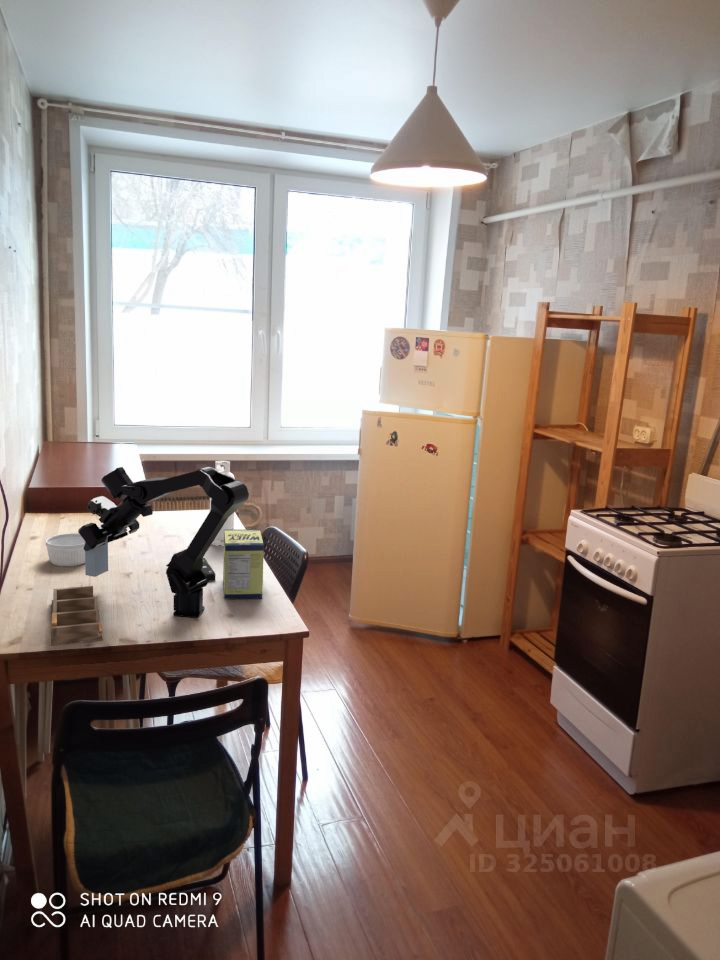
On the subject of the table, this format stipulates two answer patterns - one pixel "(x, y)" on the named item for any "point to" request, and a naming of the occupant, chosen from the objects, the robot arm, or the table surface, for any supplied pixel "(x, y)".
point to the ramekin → (66, 549)
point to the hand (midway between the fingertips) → (92, 546)
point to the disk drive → (208, 571)
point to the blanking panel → (97, 560)
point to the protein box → (243, 564)
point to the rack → (75, 616)
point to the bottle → (230, 521)
